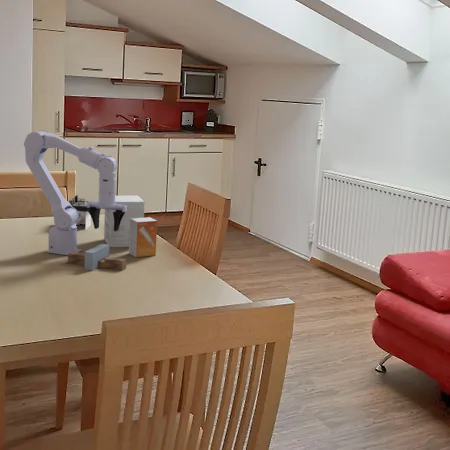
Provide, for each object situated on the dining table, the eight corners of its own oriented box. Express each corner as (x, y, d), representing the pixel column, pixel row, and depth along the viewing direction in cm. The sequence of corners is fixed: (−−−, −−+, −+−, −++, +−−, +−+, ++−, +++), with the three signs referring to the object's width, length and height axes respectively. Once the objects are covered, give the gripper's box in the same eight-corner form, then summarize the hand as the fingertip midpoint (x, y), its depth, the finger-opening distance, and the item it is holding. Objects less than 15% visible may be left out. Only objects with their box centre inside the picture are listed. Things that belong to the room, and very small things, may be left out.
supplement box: (137, 238, 256) (138, 195, 253) (143, 246, 244) (145, 201, 241) (103, 239, 252) (104, 195, 248) (108, 247, 240) (109, 201, 236)
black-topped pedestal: (57, 218, 284) (57, 188, 281) (117, 222, 284) (117, 192, 281) (38, 233, 257) (37, 200, 254) (103, 237, 256) (104, 204, 253)
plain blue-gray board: (84, 269, 212) (84, 251, 211) (101, 260, 223) (101, 243, 222) (92, 270, 211) (93, 252, 210) (109, 261, 222) (109, 244, 221)
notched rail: (67, 262, 218) (67, 253, 217) (72, 260, 221) (72, 251, 220) (122, 270, 213) (122, 261, 212) (126, 268, 216) (126, 258, 215)
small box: (136, 257, 229) (137, 222, 226) (128, 253, 234) (129, 218, 231) (156, 255, 233) (157, 220, 230) (148, 251, 238) (149, 216, 236)
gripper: (82, 191, 223) (82, 229, 226) (121, 195, 219) (120, 234, 222) (92, 188, 230) (91, 225, 233) (129, 192, 226) (128, 230, 229)
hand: (106, 229), depth 228 cm, fingers open, 7 cm apart
